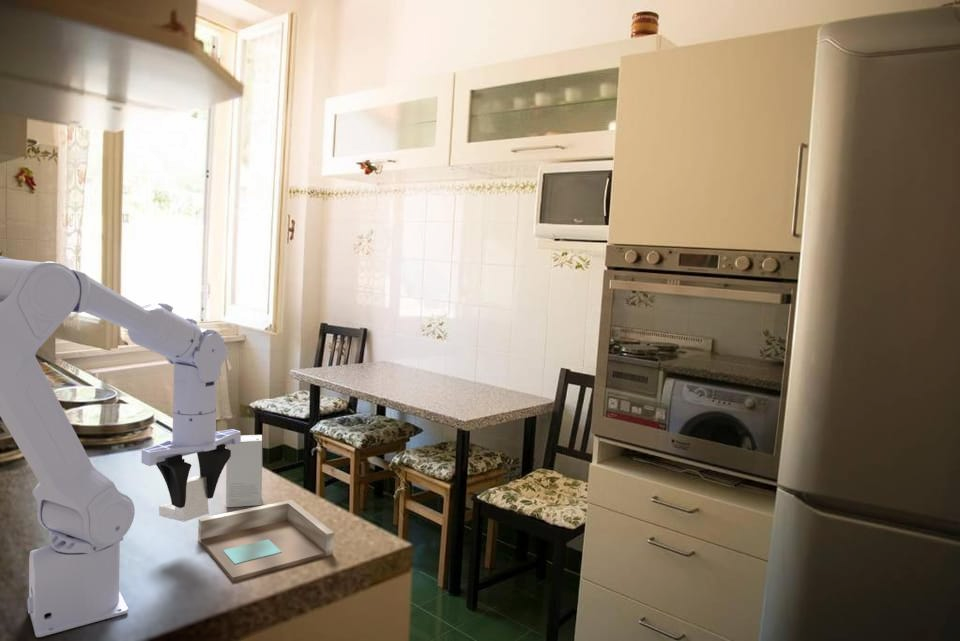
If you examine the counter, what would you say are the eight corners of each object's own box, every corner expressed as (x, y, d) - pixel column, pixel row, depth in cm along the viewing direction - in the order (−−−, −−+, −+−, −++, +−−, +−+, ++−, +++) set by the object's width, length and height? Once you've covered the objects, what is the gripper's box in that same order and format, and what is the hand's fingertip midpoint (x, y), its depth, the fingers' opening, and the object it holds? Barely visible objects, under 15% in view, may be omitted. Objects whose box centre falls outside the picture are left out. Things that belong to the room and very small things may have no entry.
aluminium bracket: (183, 521, 92) (181, 483, 92) (159, 515, 95) (157, 479, 95) (208, 513, 95) (206, 476, 95) (184, 507, 98) (182, 472, 98)
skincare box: (261, 497, 118) (263, 433, 117) (261, 506, 114) (264, 440, 113) (225, 499, 116) (227, 434, 115) (224, 509, 112) (226, 441, 111)
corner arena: (232, 581, 88) (233, 557, 88) (198, 540, 100) (198, 518, 99) (332, 554, 98) (334, 532, 98) (291, 519, 110) (291, 499, 109)
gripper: (163, 425, 84) (161, 524, 85) (254, 406, 96) (252, 494, 98) (133, 415, 88) (132, 510, 89) (225, 398, 100) (222, 482, 101)
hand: (192, 501), depth 94 cm, fingers closed on aluminium bracket, 4 cm apart
